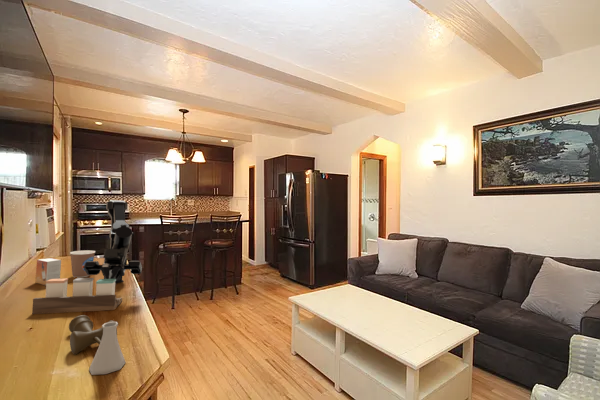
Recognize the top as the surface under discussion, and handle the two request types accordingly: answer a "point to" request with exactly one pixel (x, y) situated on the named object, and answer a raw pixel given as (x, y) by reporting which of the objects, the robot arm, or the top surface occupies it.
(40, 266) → the small box
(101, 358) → the flask
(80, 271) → the coffee cup
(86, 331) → the kendama
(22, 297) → the top surface
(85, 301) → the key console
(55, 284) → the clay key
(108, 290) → the teal key
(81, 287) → the grey key
